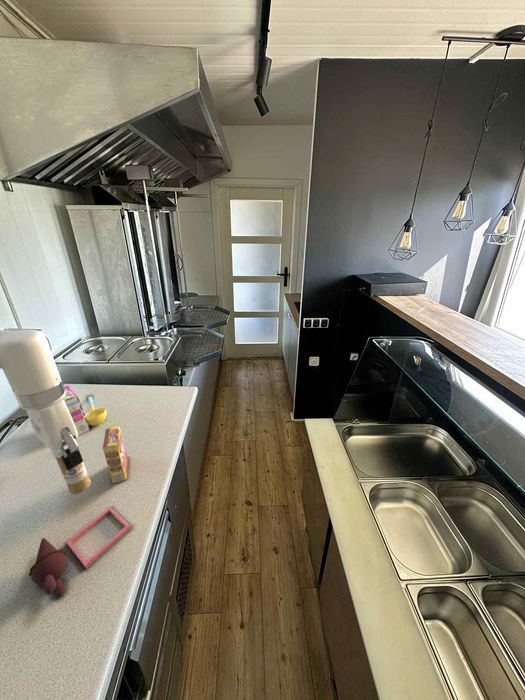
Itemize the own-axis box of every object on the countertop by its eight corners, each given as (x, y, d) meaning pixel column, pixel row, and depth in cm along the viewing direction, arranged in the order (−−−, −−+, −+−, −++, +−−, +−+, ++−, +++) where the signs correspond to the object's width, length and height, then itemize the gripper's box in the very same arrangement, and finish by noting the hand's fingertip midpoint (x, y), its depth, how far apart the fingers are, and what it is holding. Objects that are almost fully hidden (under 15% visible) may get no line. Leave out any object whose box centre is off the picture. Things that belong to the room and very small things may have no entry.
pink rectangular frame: (87, 570, 68) (84, 566, 67) (68, 546, 73) (65, 541, 72) (131, 530, 76) (129, 525, 75) (111, 511, 81) (110, 506, 80)
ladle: (86, 433, 109) (80, 420, 107) (83, 410, 130) (78, 399, 129) (111, 422, 113) (105, 409, 111) (104, 402, 135) (99, 391, 133)
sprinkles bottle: (72, 498, 65) (53, 455, 59) (67, 486, 68) (47, 443, 62) (94, 486, 68) (78, 443, 62) (87, 475, 71) (71, 433, 65)
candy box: (128, 481, 90) (117, 444, 83) (113, 485, 89) (100, 448, 82) (129, 460, 98) (119, 425, 91) (115, 463, 96) (104, 428, 90)
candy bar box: (92, 429, 111) (77, 395, 103) (78, 437, 108) (62, 402, 100) (82, 417, 118) (68, 384, 110) (69, 423, 115) (53, 390, 107)
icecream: (16, 546, 67) (25, 608, 57) (50, 521, 70) (64, 576, 61) (35, 555, 71) (47, 614, 62) (66, 531, 74) (82, 584, 65)
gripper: (2, 387, 57) (34, 454, 65) (37, 418, 49) (69, 491, 57) (44, 372, 63) (69, 435, 71) (82, 397, 54) (106, 466, 62)
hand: (69, 459), depth 64 cm, fingers closed on sprinkles bottle, 4 cm apart
